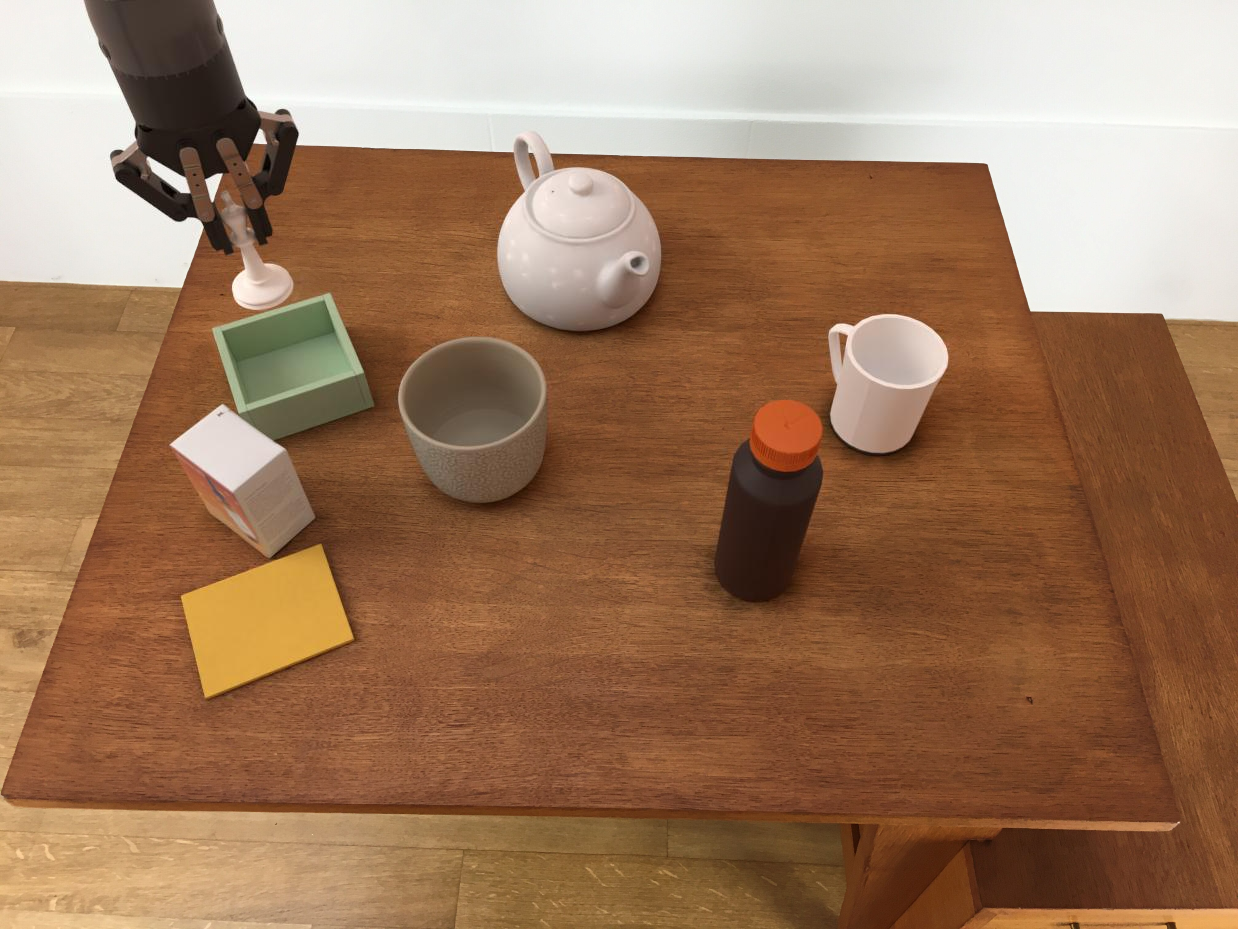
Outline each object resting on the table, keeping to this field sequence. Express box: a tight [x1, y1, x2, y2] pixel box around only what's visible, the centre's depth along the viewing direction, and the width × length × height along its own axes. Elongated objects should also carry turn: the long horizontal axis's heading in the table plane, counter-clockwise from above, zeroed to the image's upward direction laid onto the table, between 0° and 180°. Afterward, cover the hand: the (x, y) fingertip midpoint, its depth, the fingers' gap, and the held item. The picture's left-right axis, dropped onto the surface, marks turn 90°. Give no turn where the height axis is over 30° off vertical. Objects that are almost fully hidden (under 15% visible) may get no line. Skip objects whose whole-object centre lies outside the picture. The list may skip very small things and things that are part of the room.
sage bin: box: [211, 292, 375, 441], centre depth 93 cm, size 12×12×5 cm
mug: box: [827, 313, 949, 456], centre depth 89 cm, size 11×9×10 cm
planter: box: [397, 336, 549, 504], centre depth 85 cm, size 12×12×11 cm
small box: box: [169, 403, 316, 559], centre depth 82 cm, size 8×6×10 cm
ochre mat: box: [180, 543, 355, 701], centre depth 80 cm, size 12×10×1 cm
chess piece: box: [219, 189, 294, 311], centre depth 77 cm, size 5×5×10 cm
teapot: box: [496, 130, 662, 332], centre depth 99 cm, size 19×18×14 cm
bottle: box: [713, 399, 824, 602], centre depth 75 cm, size 7×7×20 cm
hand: (244, 243), depth 77 cm, fingers closed on chess piece
